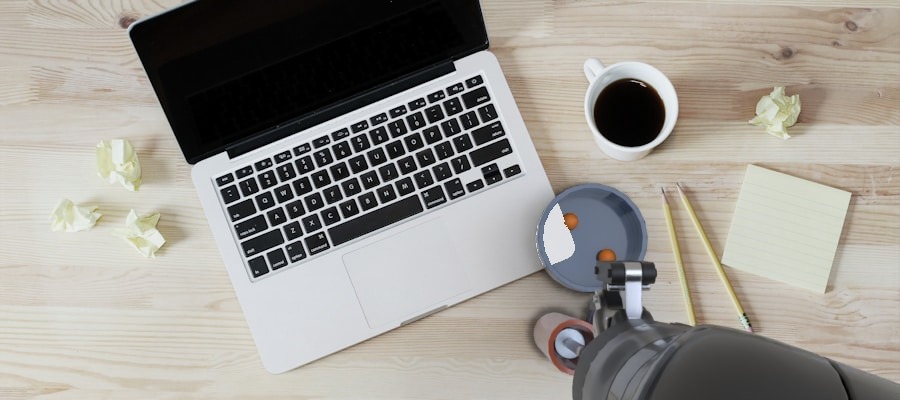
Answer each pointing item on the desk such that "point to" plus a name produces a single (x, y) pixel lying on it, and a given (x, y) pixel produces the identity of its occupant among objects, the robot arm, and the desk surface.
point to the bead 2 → (607, 255)
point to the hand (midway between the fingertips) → (606, 368)
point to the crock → (548, 331)
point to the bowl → (594, 233)
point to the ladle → (569, 343)
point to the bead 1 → (570, 221)
